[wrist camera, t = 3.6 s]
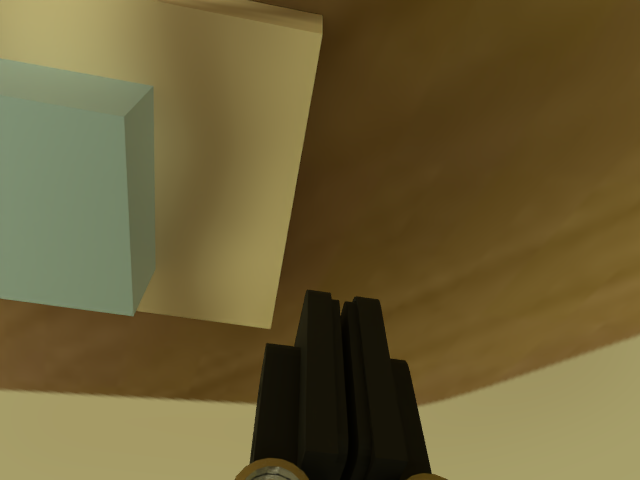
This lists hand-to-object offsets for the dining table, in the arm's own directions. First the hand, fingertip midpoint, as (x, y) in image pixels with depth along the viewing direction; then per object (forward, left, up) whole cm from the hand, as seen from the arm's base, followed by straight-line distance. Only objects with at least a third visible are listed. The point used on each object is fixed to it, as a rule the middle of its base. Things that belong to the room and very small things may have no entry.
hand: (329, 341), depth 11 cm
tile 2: (+8, -1, -4) cm, 9 cm away
